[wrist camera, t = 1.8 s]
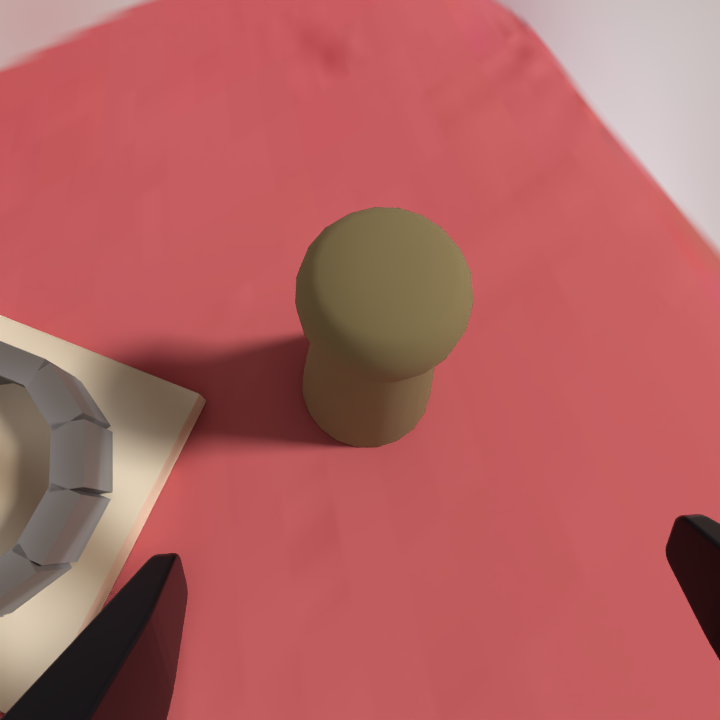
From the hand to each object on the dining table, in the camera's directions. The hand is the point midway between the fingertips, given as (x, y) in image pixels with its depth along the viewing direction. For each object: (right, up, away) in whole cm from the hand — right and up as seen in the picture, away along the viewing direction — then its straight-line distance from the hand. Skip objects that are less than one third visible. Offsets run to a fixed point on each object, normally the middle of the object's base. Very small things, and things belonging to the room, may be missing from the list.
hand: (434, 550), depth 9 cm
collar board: (-17, -2, +13) cm, 21 cm away
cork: (-1, +2, +15) cm, 15 cm away
